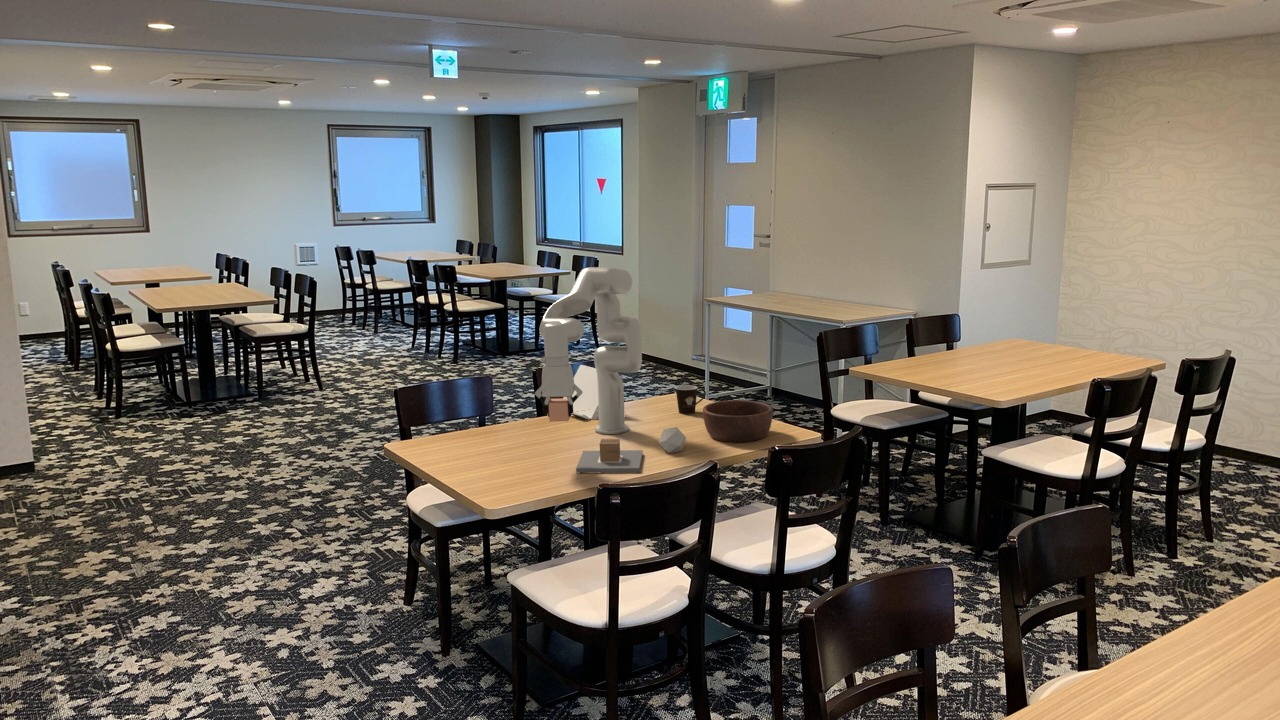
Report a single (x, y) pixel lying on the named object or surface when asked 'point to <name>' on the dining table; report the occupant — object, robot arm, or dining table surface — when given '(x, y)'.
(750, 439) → the wooden bowl
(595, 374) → the tablet stand
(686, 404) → the coffee mug
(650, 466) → the dining table surface
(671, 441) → the die
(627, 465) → the baseboard
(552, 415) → the terracotta block
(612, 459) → the walnut block
